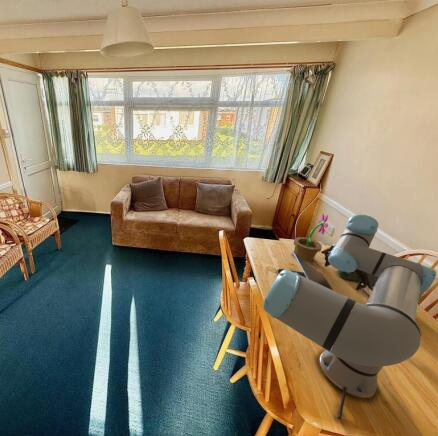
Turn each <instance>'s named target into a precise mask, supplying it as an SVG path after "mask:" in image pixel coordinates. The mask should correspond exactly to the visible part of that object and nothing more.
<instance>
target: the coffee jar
mask: <svg viewBox="0 0 438 436" xmlns="http://www.w3.org/2000/svg"><path fill="white" fill-rule="evenodd" d="M337 274H338V275H339V277H340V278H342V279H345V280H349V281H353V282H360V281H361V280H360V279H359V277H358V275H357V273H356V272H355V271H353V272H345V271H340V270H337Z"/></svg>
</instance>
